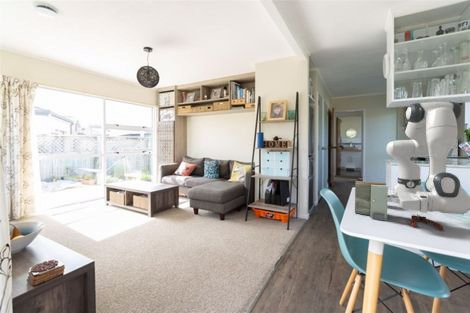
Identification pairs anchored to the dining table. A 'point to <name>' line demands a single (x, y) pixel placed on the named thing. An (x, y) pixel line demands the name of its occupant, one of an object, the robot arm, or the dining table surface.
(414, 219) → the pliers
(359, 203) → the cabinet
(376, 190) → the door panel
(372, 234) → the dining table surface
